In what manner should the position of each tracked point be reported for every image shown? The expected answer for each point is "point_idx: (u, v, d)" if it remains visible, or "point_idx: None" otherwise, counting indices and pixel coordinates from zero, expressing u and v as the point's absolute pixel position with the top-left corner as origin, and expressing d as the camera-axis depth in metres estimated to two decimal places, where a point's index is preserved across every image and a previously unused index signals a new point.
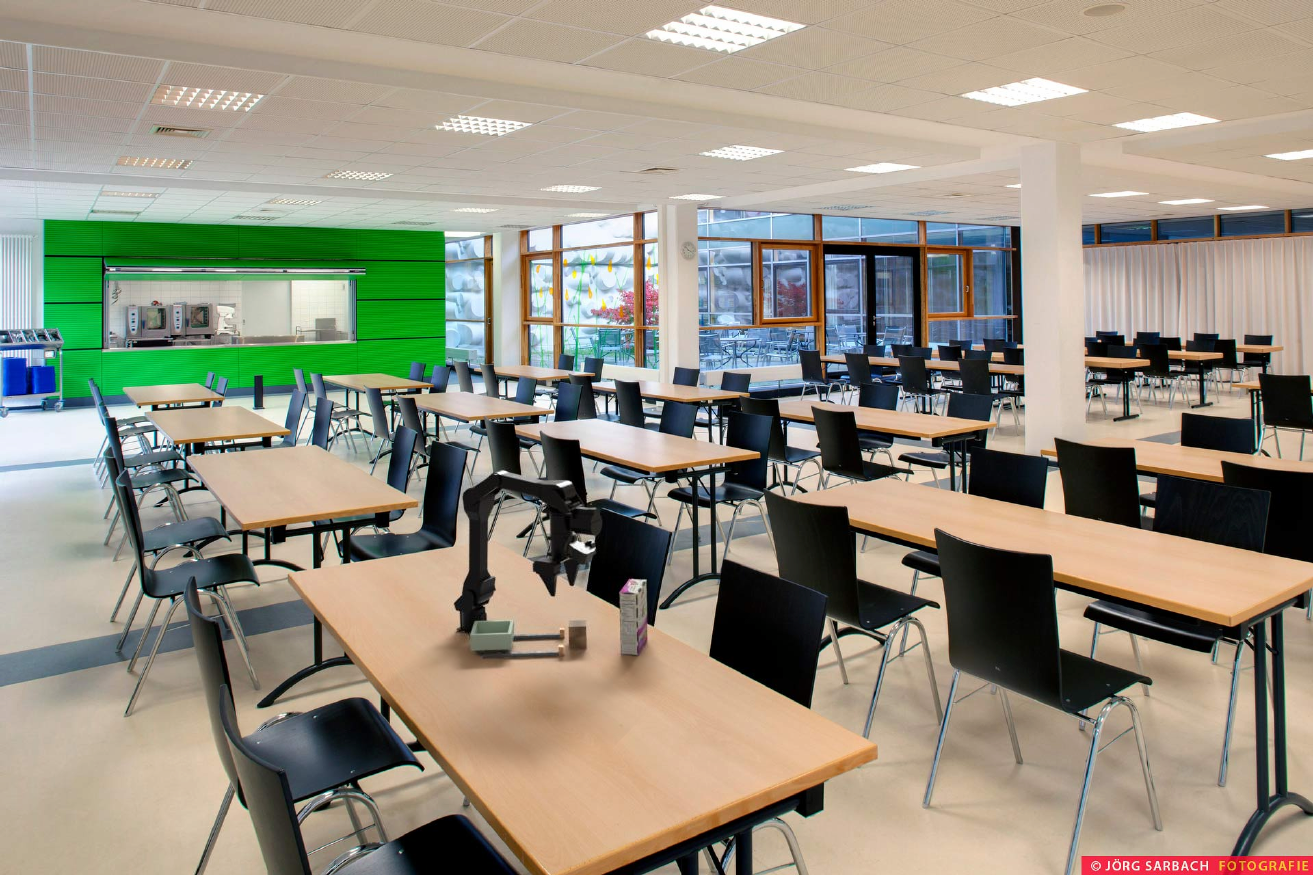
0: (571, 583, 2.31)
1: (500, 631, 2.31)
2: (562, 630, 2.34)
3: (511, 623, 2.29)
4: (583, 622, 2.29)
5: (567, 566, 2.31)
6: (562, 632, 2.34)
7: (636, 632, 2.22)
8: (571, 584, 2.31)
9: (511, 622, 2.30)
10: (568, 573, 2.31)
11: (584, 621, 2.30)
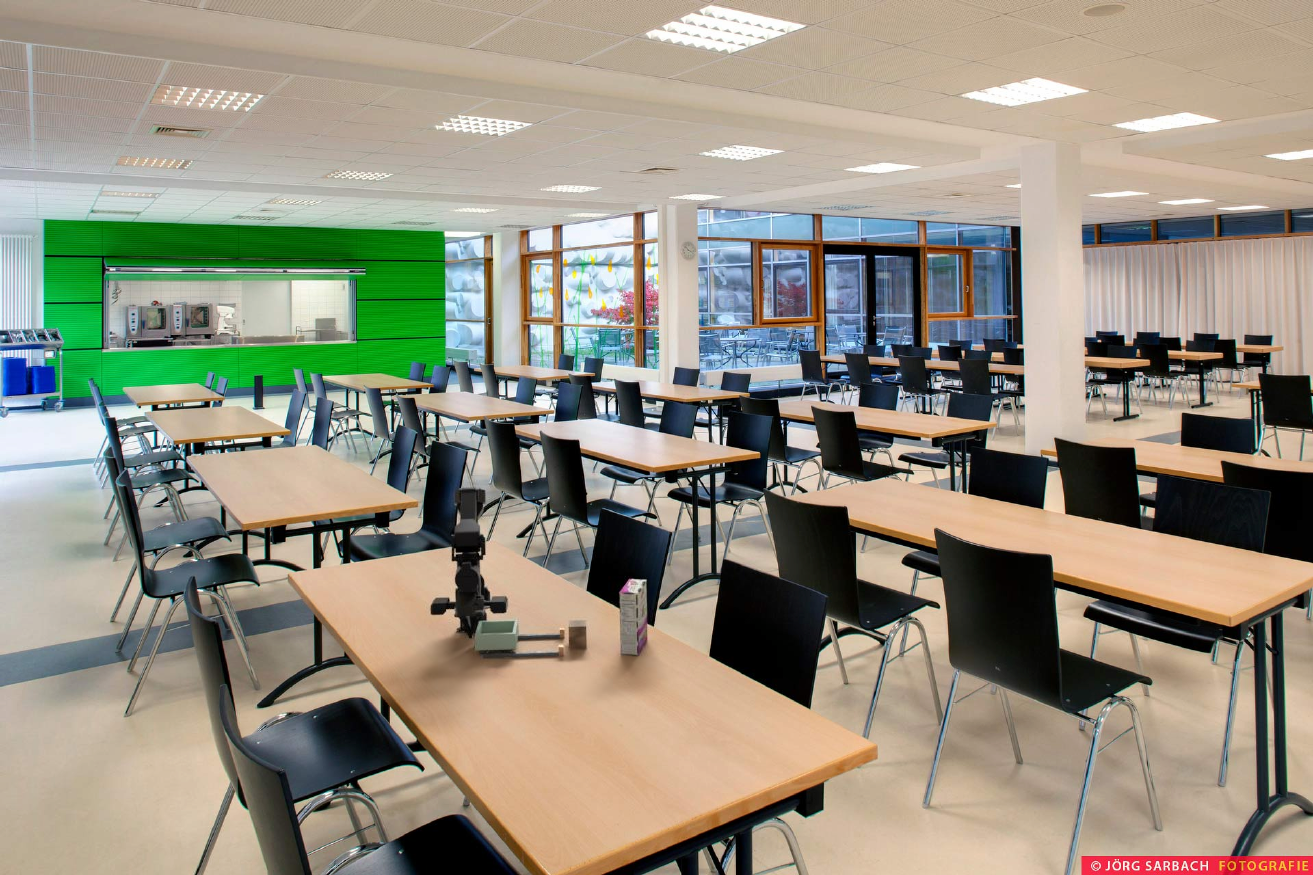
0: None
1: (504, 631, 2.31)
2: (562, 630, 2.34)
3: (515, 623, 2.29)
4: (583, 622, 2.29)
5: None
6: (562, 632, 2.34)
7: (636, 632, 2.22)
8: None
9: (515, 622, 2.30)
10: None
11: (584, 621, 2.30)
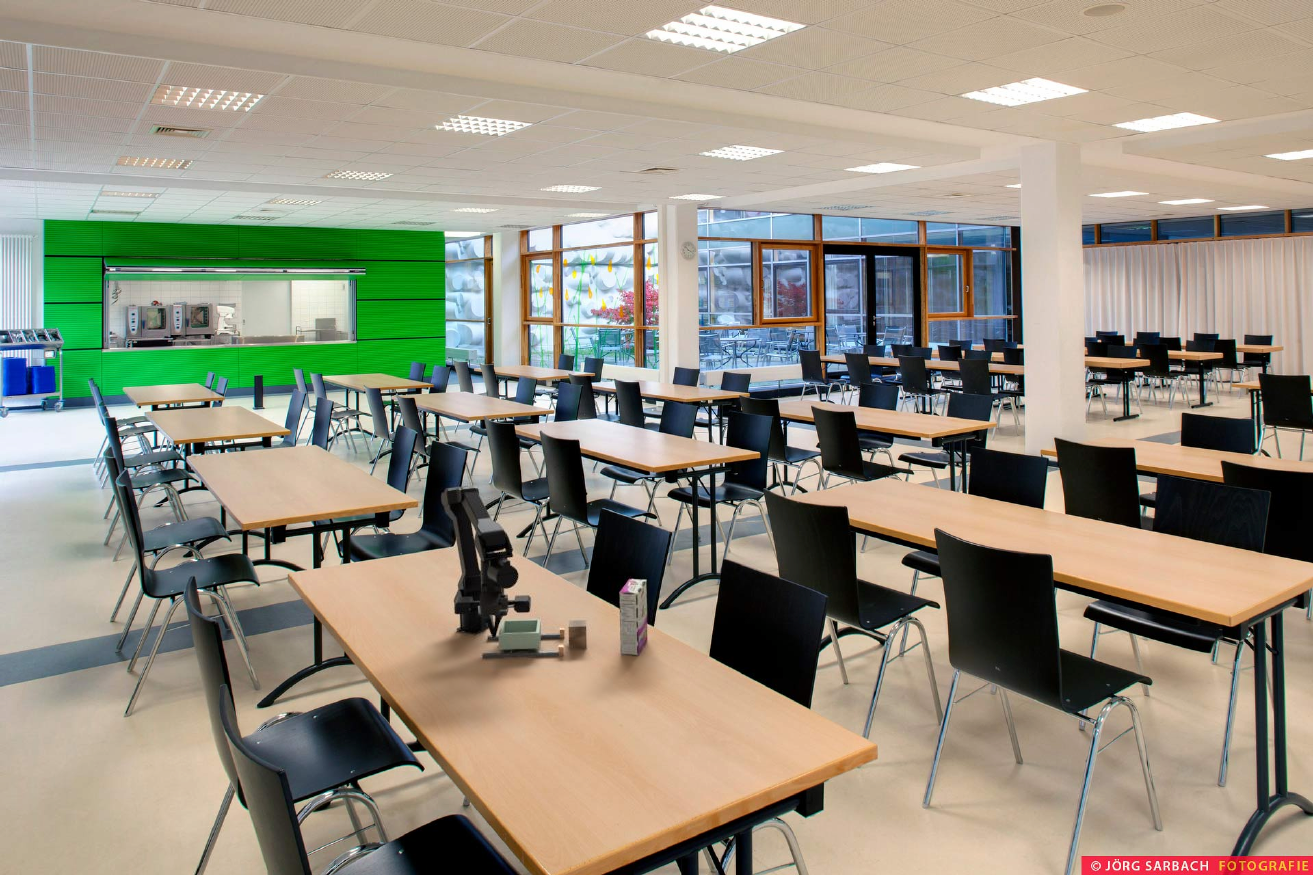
0: None
1: (527, 630, 2.32)
2: (562, 630, 2.34)
3: (538, 622, 2.30)
4: (583, 622, 2.29)
5: None
6: (562, 632, 2.34)
7: (636, 632, 2.22)
8: None
9: (538, 621, 2.31)
10: None
11: (584, 621, 2.30)
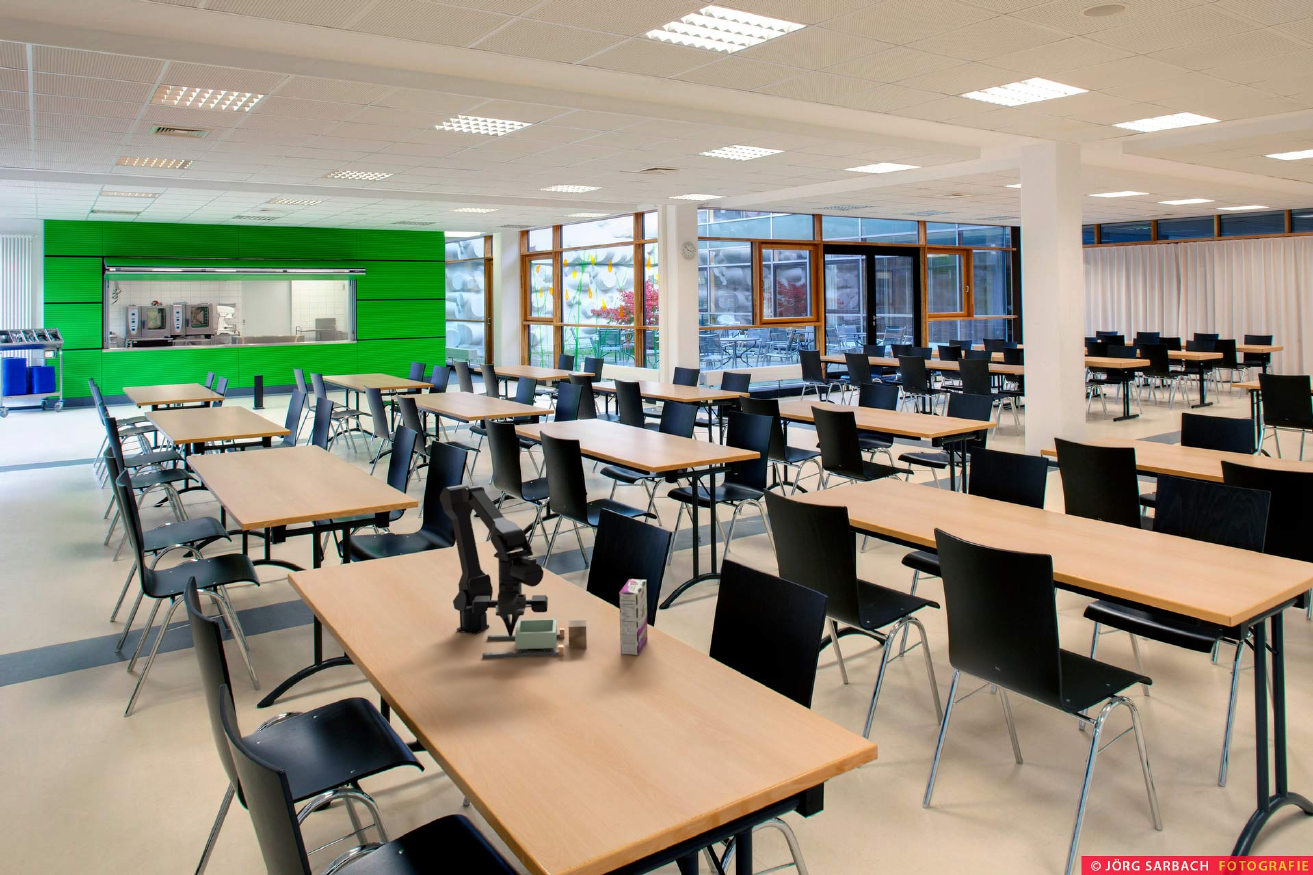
0: None
1: (543, 630, 2.32)
2: (562, 630, 2.34)
3: (554, 622, 2.30)
4: (583, 622, 2.29)
5: None
6: (562, 632, 2.34)
7: (636, 632, 2.22)
8: None
9: (554, 621, 2.31)
10: (511, 623, 2.28)
11: (584, 621, 2.30)
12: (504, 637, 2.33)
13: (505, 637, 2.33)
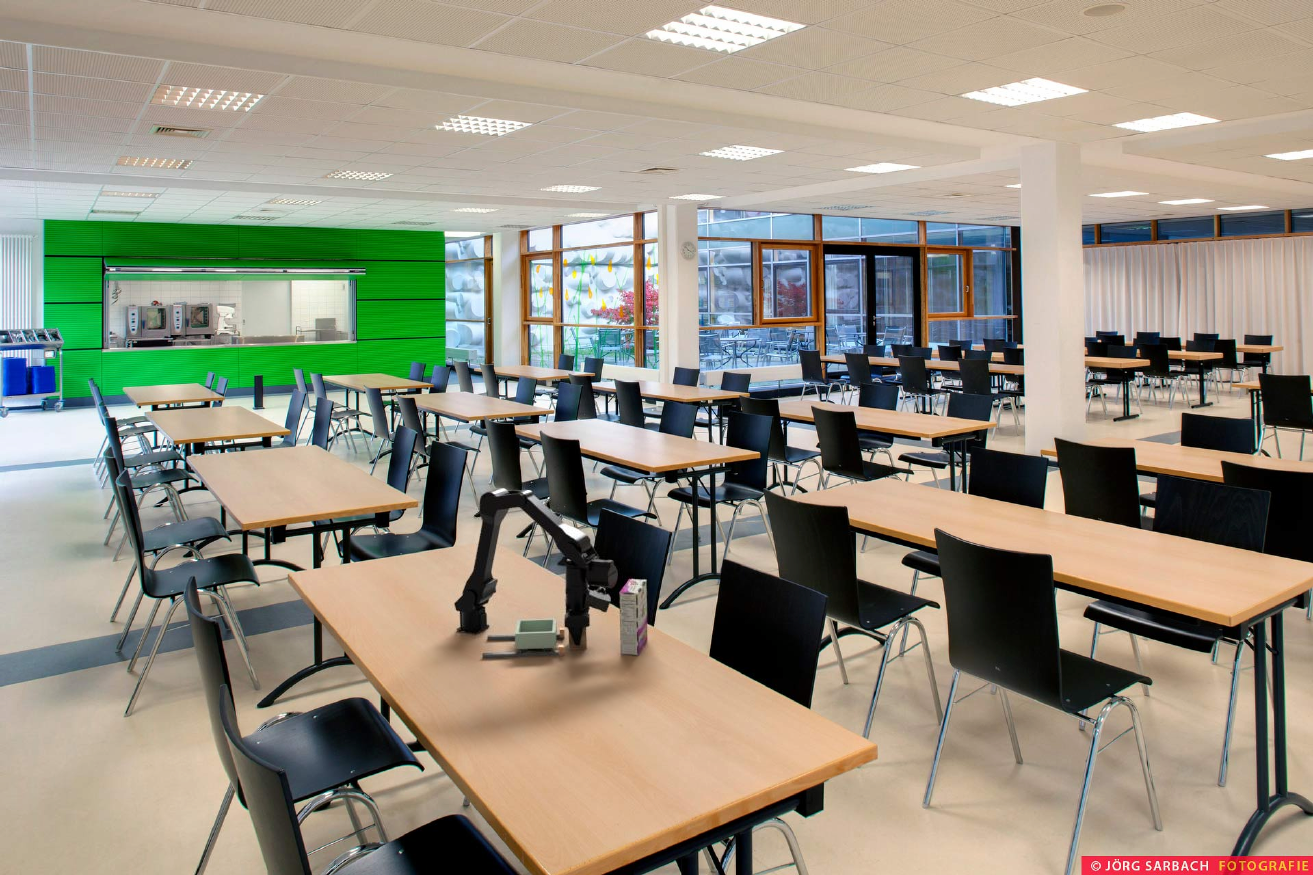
0: None
1: (543, 630, 2.32)
2: (562, 630, 2.34)
3: (554, 622, 2.30)
4: None
5: None
6: (562, 632, 2.34)
7: (636, 632, 2.22)
8: None
9: (554, 621, 2.31)
10: None
11: None
12: (504, 637, 2.33)
13: (505, 637, 2.33)
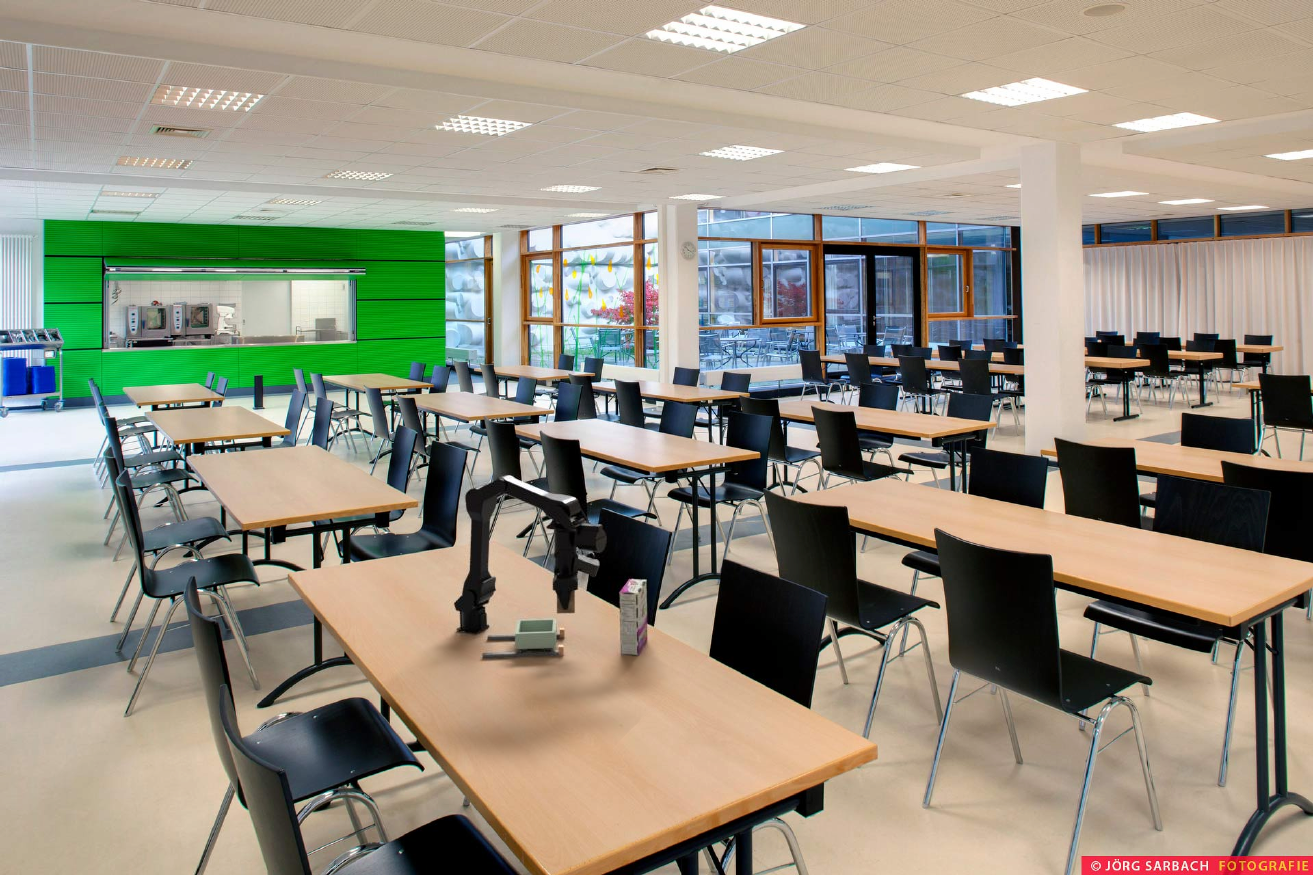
0: None
1: (543, 630, 2.32)
2: (562, 630, 2.34)
3: (554, 622, 2.30)
4: None
5: None
6: (562, 632, 2.34)
7: (636, 632, 2.22)
8: None
9: (554, 621, 2.31)
10: None
11: None
12: (504, 637, 2.33)
13: (505, 637, 2.33)
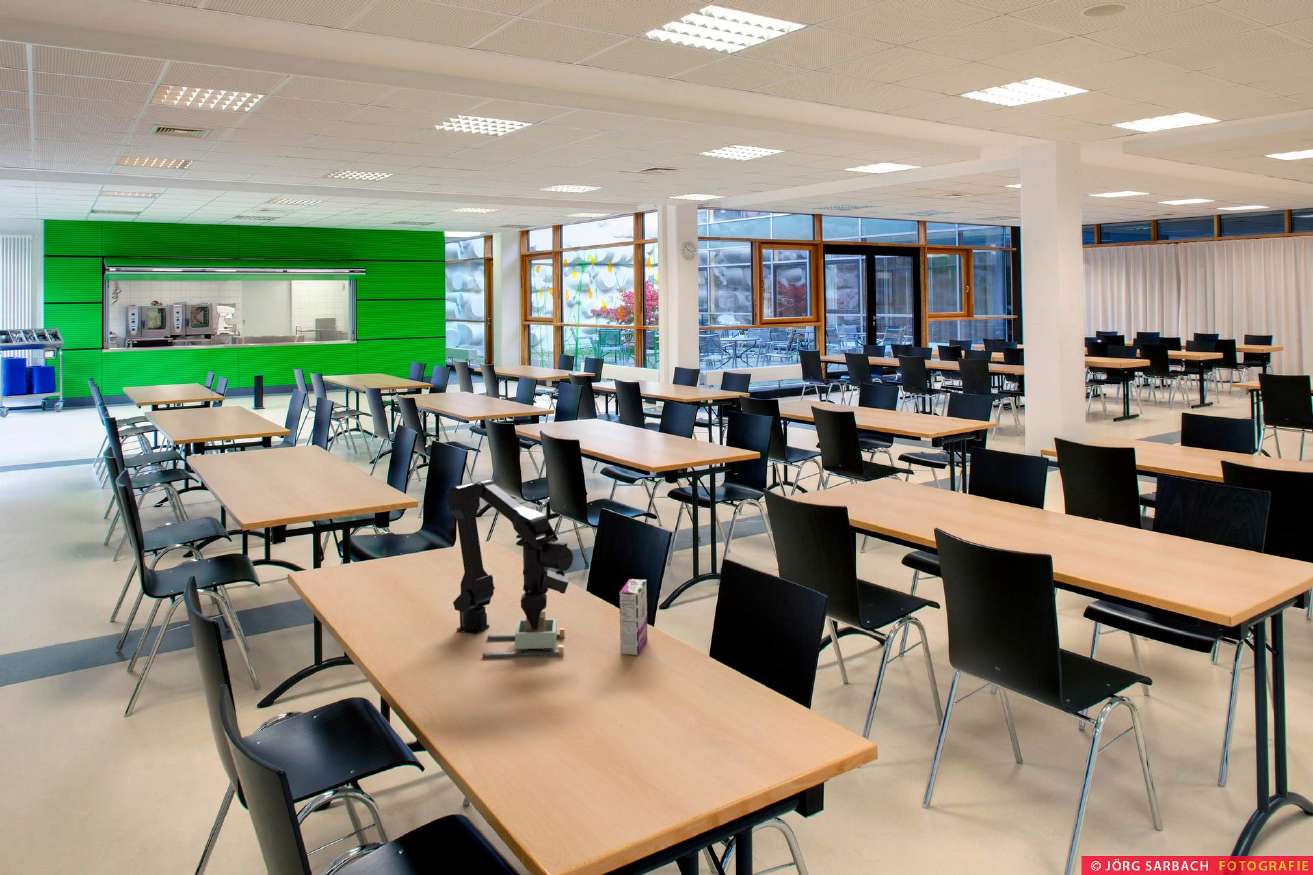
0: None
1: None
2: (562, 630, 2.34)
3: (554, 622, 2.30)
4: (542, 614, 2.27)
5: None
6: (562, 632, 2.34)
7: (636, 632, 2.22)
8: None
9: (554, 621, 2.31)
10: None
11: (543, 612, 2.28)
12: (504, 637, 2.33)
13: (505, 637, 2.33)
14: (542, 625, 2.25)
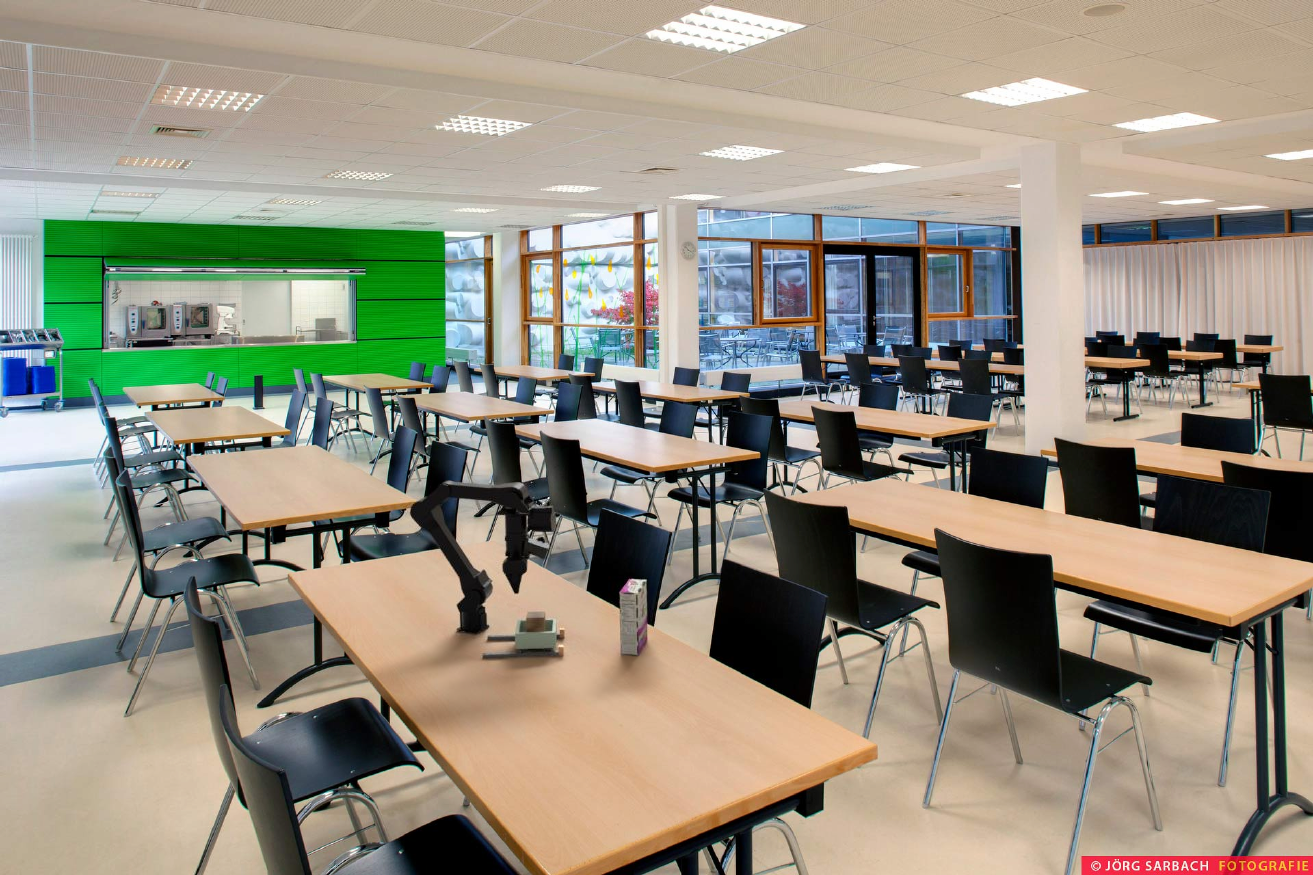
0: None
1: None
2: (562, 630, 2.34)
3: (554, 622, 2.30)
4: (542, 614, 2.27)
5: None
6: (562, 632, 2.34)
7: (636, 632, 2.22)
8: None
9: (554, 621, 2.31)
10: None
11: (543, 612, 2.28)
12: (504, 637, 2.33)
13: (505, 637, 2.33)
14: (542, 625, 2.25)
